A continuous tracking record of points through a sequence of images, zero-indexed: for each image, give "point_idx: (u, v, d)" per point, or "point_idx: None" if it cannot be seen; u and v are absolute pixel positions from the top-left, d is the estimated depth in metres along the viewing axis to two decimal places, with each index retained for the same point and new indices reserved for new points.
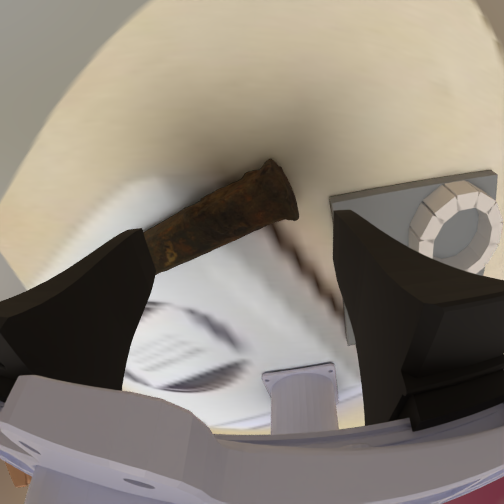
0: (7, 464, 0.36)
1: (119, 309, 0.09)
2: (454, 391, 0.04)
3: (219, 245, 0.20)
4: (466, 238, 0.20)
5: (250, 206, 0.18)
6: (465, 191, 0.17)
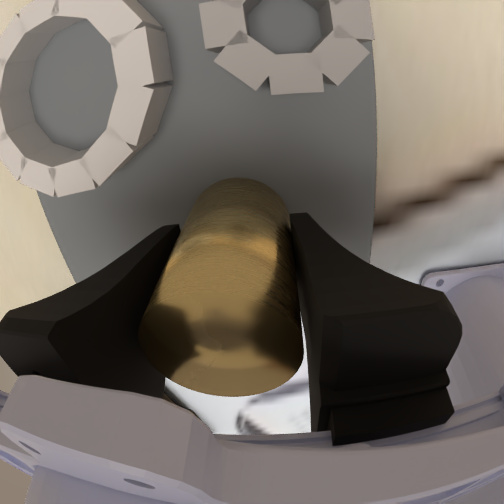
0: None
1: None
2: (380, 408, 0.04)
3: None
4: (96, 39, 0.08)
5: None
6: None
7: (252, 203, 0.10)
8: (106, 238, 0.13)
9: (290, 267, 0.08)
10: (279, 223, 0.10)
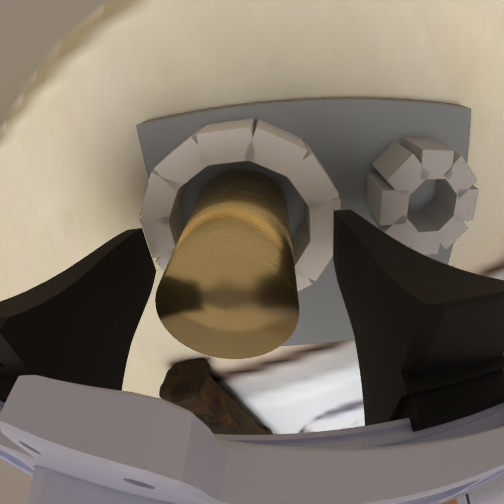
0: None
1: (119, 309, 0.09)
2: (454, 391, 0.04)
3: (229, 423, 0.22)
4: (266, 171, 0.13)
5: None
6: None
7: (250, 188, 0.11)
8: None
9: (285, 238, 0.10)
10: (275, 203, 0.11)
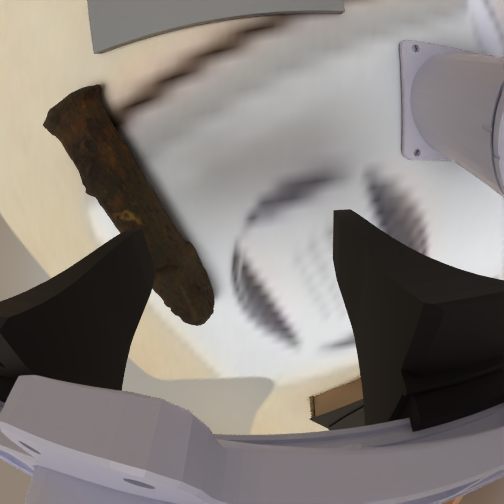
0: None
1: (119, 309, 0.09)
2: (454, 391, 0.04)
3: (112, 164, 0.16)
4: None
5: (68, 137, 0.15)
6: None
7: None
8: (134, 2, 0.12)
9: None
10: None
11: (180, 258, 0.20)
